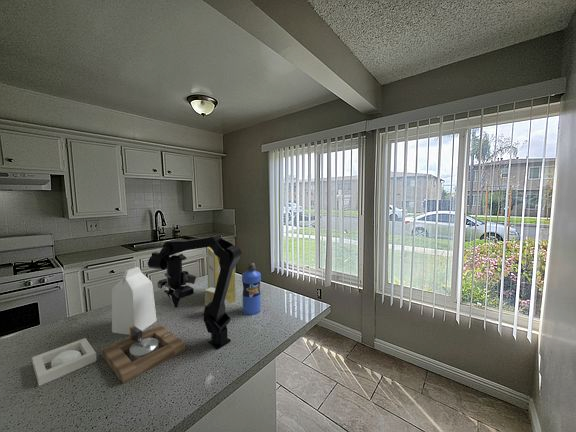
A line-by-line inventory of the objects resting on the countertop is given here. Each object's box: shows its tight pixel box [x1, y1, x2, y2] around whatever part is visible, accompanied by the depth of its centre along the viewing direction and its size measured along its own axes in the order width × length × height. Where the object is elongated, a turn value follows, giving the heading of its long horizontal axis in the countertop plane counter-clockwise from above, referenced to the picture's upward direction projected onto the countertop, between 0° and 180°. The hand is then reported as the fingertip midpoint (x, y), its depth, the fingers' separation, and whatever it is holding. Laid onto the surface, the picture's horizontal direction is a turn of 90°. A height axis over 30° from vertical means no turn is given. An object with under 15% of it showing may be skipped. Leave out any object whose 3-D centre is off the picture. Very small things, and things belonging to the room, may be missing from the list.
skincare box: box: [204, 287, 215, 307], centre depth 116 cm, size 6×4×12 cm
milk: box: [111, 266, 158, 336], centre depth 103 cm, size 12×12×26 cm
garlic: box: [50, 350, 82, 368], centre depth 81 cm, size 8×7×4 cm
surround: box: [101, 324, 186, 385], centre depth 86 cm, size 20×20×3 cm
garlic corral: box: [31, 337, 97, 387], centre depth 81 cm, size 14×14×3 cm
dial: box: [129, 326, 160, 362], centre depth 87 cm, size 14×9×7 cm, turn 57°
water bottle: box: [241, 261, 262, 316], centre depth 118 cm, size 9×9×25 cm
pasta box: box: [206, 247, 236, 305], centre depth 133 cm, size 18×10×28 cm, turn 31°
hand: (175, 307), depth 97 cm, fingers closed
